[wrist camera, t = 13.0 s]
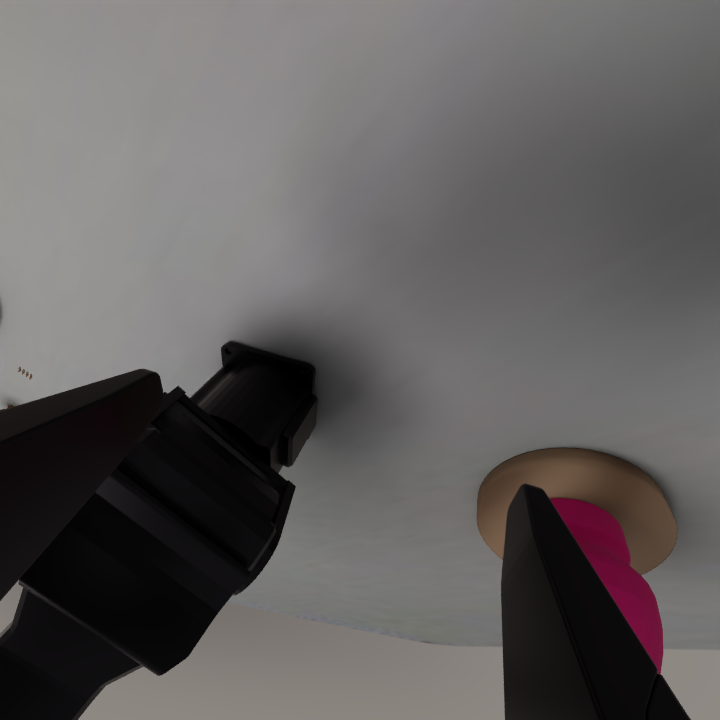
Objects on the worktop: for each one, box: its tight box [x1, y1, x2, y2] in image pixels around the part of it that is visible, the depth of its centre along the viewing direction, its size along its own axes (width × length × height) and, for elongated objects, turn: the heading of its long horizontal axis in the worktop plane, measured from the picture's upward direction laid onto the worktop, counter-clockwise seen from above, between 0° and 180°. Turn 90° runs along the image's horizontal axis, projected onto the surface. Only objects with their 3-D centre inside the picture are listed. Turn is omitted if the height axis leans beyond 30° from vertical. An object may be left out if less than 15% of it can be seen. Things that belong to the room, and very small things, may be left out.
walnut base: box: [477, 448, 677, 575], centre depth 25 cm, size 11×11×2 cm
